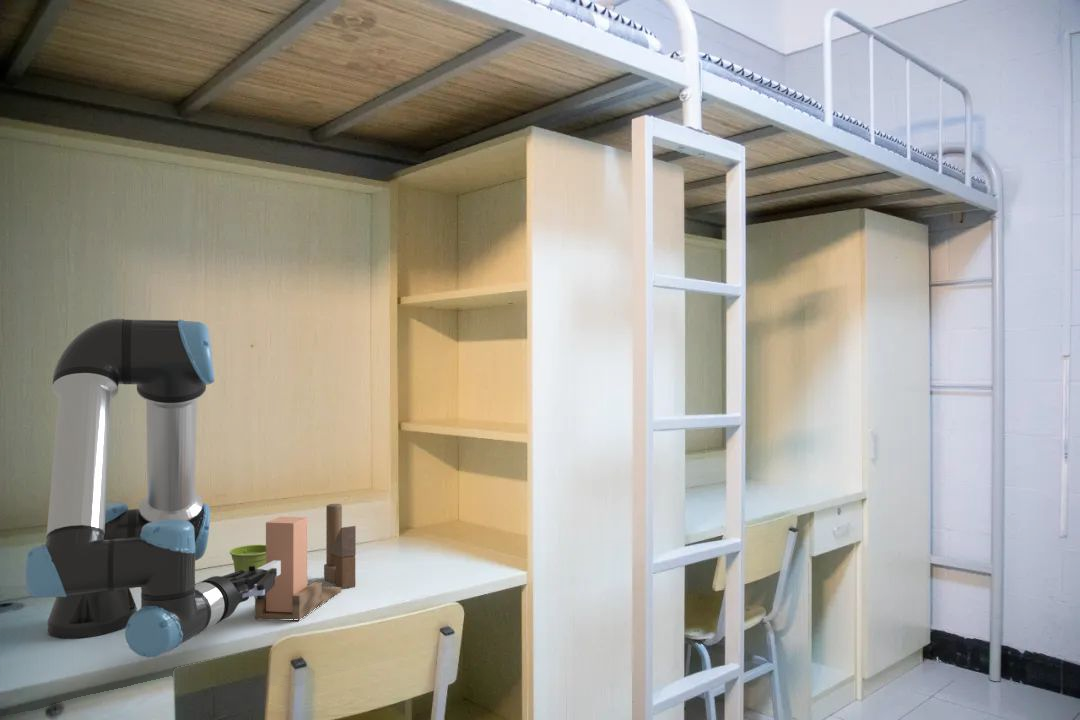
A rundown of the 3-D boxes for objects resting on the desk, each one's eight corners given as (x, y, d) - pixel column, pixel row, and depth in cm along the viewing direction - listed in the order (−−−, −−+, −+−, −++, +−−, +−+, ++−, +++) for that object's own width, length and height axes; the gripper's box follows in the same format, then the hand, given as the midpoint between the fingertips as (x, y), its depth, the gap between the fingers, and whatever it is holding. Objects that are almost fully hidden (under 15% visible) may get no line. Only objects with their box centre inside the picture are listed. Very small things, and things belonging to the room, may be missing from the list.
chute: (299, 621, 150) (299, 596, 150) (255, 618, 151) (255, 594, 151) (341, 591, 170) (341, 569, 170) (301, 589, 171) (301, 568, 171)
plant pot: (281, 585, 175) (281, 547, 175) (245, 595, 167) (245, 556, 167) (256, 578, 180) (256, 542, 180) (220, 588, 172) (220, 550, 173)
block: (293, 612, 151) (293, 523, 151) (265, 611, 152) (265, 522, 152) (307, 603, 157) (307, 517, 157) (280, 602, 158) (280, 516, 158)
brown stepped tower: (341, 589, 171) (341, 511, 171) (323, 579, 180) (323, 504, 180) (356, 586, 173) (356, 509, 174) (338, 576, 182) (338, 502, 182)
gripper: (171, 624, 127) (247, 584, 150) (241, 628, 125) (307, 587, 148) (171, 579, 127) (247, 547, 150) (241, 583, 125) (307, 549, 148)
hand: (277, 567), depth 149 cm, fingers closed
